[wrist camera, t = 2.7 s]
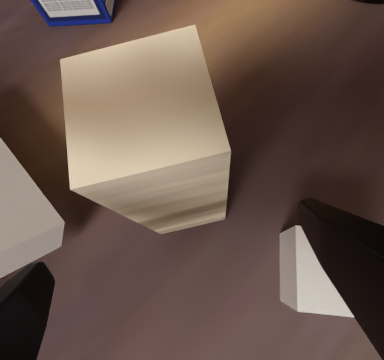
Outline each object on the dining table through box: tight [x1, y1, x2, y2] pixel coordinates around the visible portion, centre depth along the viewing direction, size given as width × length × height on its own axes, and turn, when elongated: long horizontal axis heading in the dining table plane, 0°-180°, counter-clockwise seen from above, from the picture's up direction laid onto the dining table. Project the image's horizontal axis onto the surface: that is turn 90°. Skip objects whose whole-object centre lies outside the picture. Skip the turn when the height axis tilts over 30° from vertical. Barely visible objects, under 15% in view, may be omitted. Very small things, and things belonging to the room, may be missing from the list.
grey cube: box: [280, 225, 355, 318], centre depth 17 cm, size 4×4×4 cm
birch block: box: [60, 25, 231, 234], centre depth 15 cm, size 5×5×13 cm
